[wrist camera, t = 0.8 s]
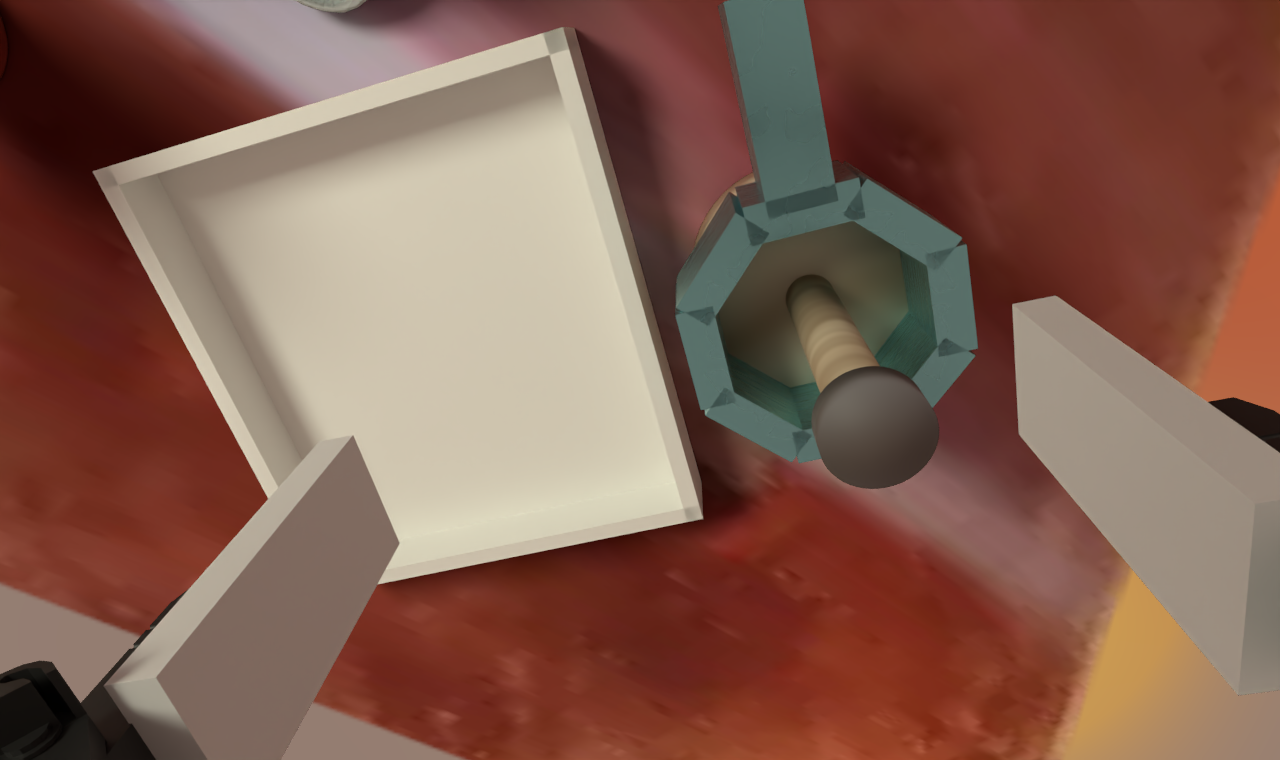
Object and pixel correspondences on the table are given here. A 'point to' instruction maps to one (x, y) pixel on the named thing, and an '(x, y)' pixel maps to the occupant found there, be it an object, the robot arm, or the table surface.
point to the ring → (799, 203)
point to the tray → (429, 304)
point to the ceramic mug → (332, 4)
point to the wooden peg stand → (834, 345)
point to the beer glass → (3, 48)
